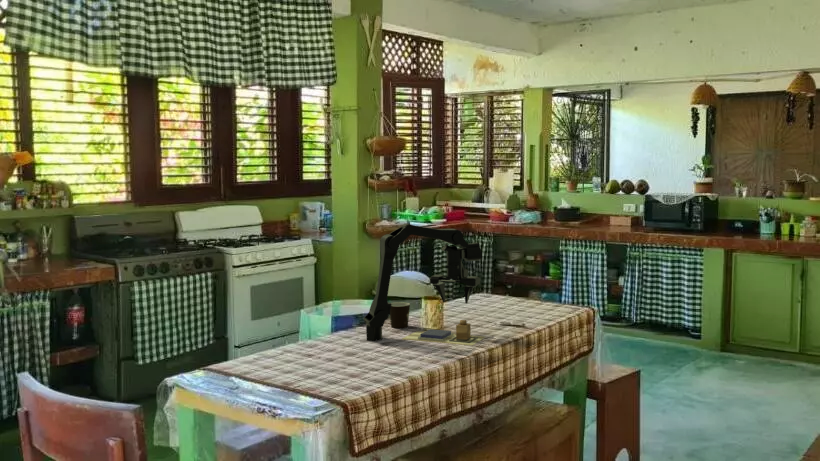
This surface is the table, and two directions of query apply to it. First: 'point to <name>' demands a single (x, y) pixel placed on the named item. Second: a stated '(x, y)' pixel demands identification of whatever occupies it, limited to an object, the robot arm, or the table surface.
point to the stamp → (463, 331)
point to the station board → (450, 340)
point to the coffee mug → (399, 315)
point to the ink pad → (436, 335)
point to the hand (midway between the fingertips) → (455, 302)
